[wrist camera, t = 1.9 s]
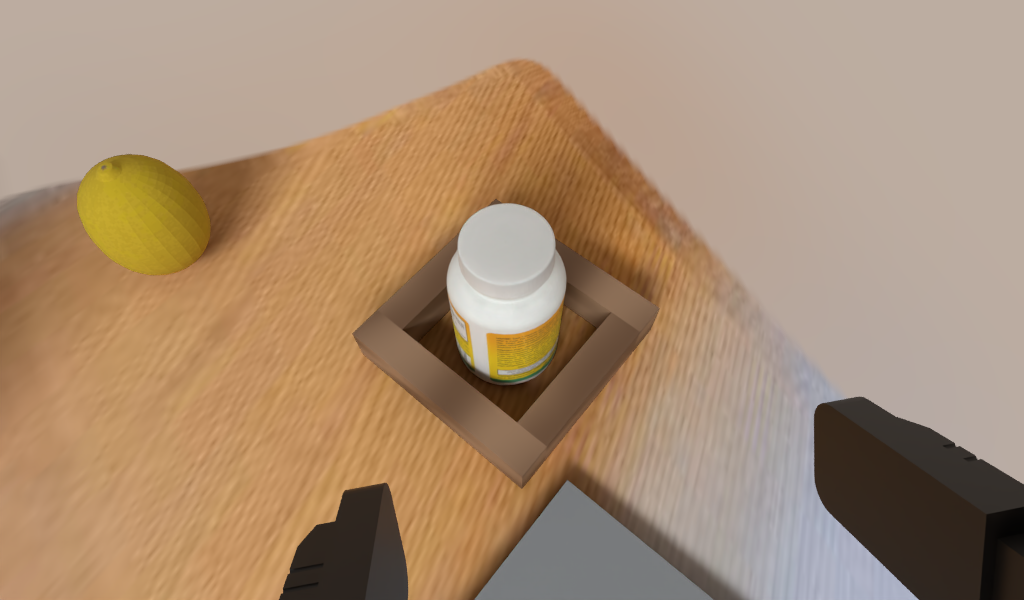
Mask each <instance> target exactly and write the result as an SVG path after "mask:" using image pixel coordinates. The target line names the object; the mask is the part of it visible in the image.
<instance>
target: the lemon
mask: <svg viewBox="0 0 1024 600" xmlns="http://www.w3.org/2000/svg"><path fill="white" fill-rule="evenodd" d="M77 209H78V213H79V216H80V218H81V221H82V223H83V226H84V228H85V230H86V232H87V233H88V235H89V237H90V238H91V239H92V241H93V242H94V243H95V244H96V245H97V246H98V247H99V248H100V249H101V251H102V252H103V253H104V254H105V255H106V256H108V257H109V258H110V259H111V260H113V261H114V262H116V263H118V264H120V265H121V266H123V267H125V268H127V269H129V270H132V271H134V272H138V273H142V274H147V275H167V274H172V273H176V272H179V271H181V270H183V269H186V268H187V267H189V266H190V265H192V264H193V263H194V262H195V261H196V260H197V259H198V258H199V257H200V256H201V255H202V254H203V252H204V250H205V249H206V247H207V244H208V241H209V238H210V227H211V225H210V218H209V215H208V211H207V208H206V206H205V203H204V201H203V199H202V198H201V196H200V195H199V193H198V192H197V191H196V190H195V188H194V187H193V186H192V185H191V183H190V182H189V181H188V180H187V179H186V178H185V177H184V176H182V175H181V174H180V173H179V172H177V171H176V170H174V169H173V168H171V167H170V166H168V165H166V164H165V163H164V162H162V161H160V160H157V159H153V158H150V157H147V156H144V155H132V154H127V155H119V156H114V157H111V158H108V159H106V160H103V161H102V162H99V163H98V164H97V165H95V166H94V167H92V169H91V170H90V171H89V172H88V173H87V174H86V175H85V177H84V178H83V180H82V181H81V184H80V187H79V190H78V193H77Z"/></svg>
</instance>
